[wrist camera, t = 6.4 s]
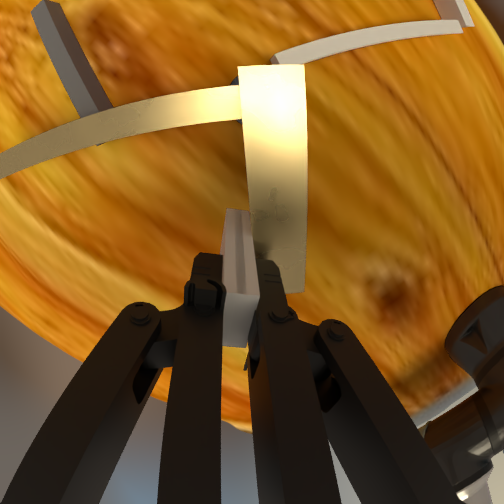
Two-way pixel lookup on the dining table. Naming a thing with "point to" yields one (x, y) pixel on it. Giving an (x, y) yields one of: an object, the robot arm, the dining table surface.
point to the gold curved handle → (255, 141)
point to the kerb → (69, 60)
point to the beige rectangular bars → (380, 35)
